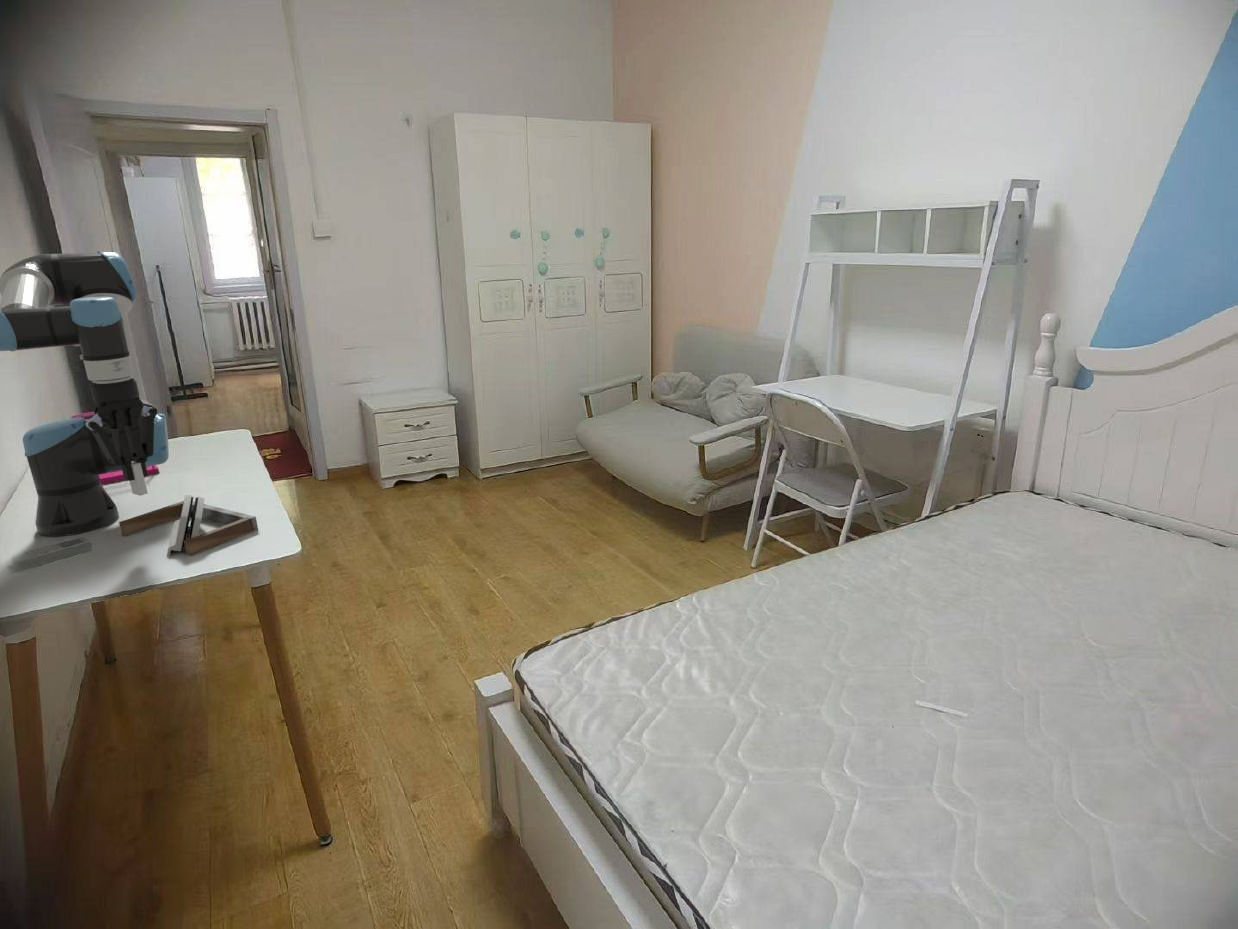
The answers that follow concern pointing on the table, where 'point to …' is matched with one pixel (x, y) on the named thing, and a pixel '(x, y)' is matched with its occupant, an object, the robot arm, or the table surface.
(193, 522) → the hinge
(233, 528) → the brown u-shaped frame
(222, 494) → the table surface
